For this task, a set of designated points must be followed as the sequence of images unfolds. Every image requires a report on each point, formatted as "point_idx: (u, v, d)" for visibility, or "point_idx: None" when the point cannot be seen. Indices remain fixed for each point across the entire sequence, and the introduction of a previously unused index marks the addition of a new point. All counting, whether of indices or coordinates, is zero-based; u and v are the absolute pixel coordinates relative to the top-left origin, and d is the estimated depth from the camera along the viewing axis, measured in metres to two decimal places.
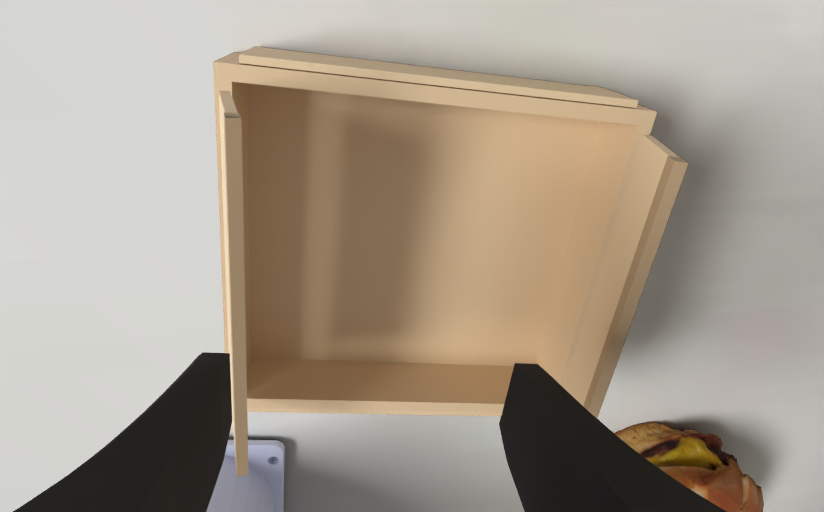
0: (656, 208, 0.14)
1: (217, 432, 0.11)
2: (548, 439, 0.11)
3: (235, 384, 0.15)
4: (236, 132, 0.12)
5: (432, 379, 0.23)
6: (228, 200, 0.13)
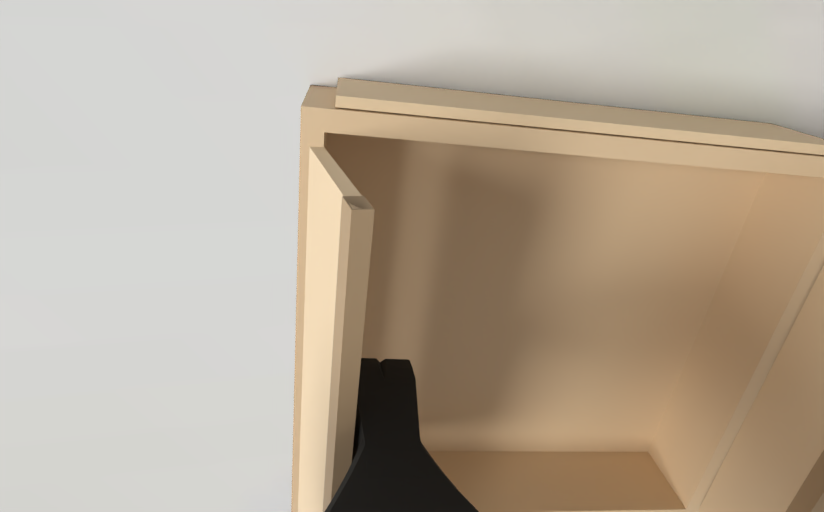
0: None
1: None
2: (356, 437, 0.10)
3: None
4: (365, 229, 0.08)
5: (534, 475, 0.19)
6: (343, 322, 0.09)
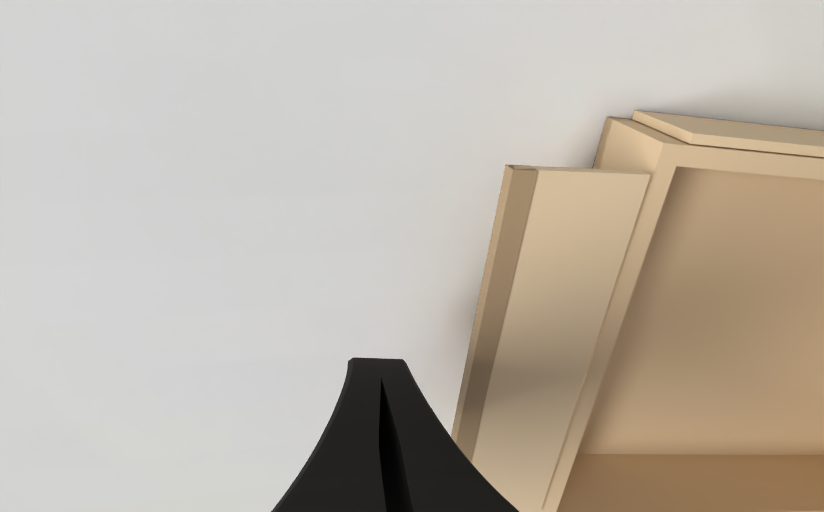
0: None
1: None
2: (388, 437, 0.10)
3: (451, 435, 0.15)
4: (506, 182, 0.11)
5: (738, 477, 0.20)
6: (491, 250, 0.12)
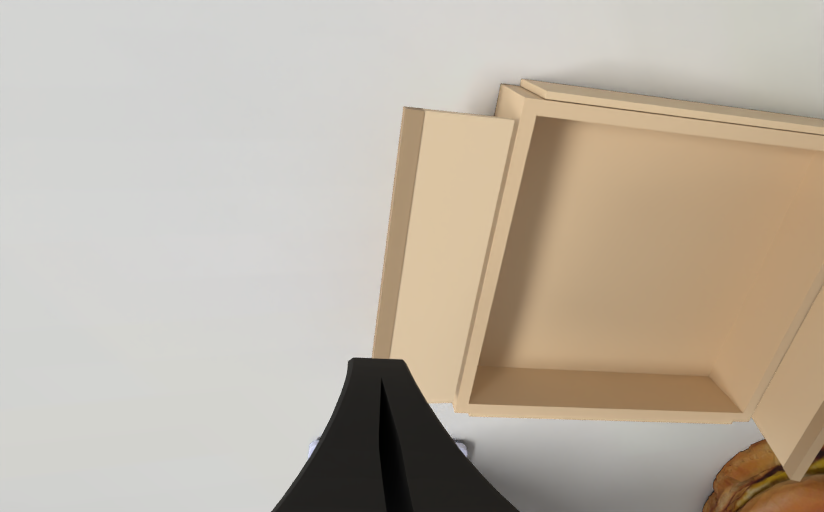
0: None
1: None
2: (387, 437, 0.10)
3: None
4: (402, 118, 0.16)
5: (626, 387, 0.24)
6: None
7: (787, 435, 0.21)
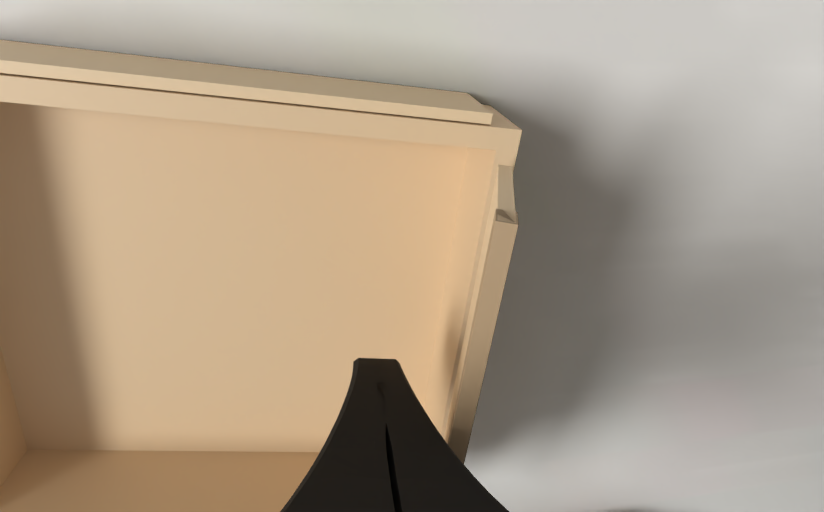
0: (479, 293, 0.09)
1: None
2: None
3: None
4: None
5: (269, 478, 0.17)
6: None
7: None
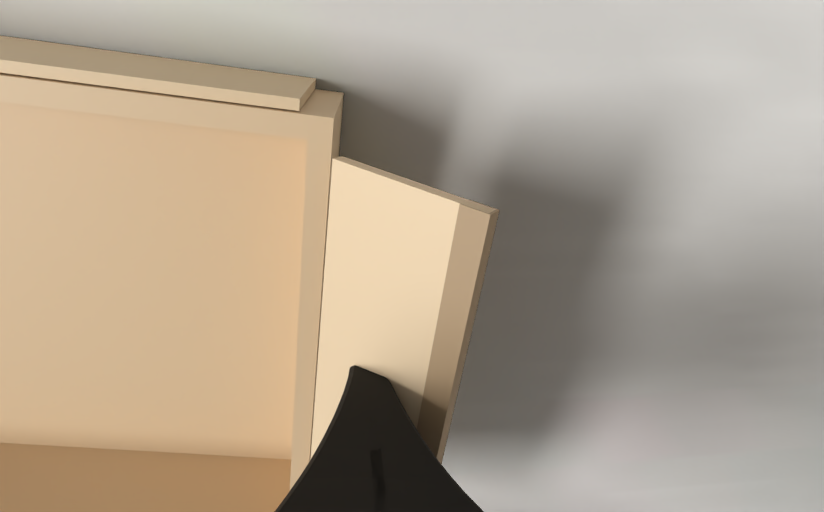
0: (469, 283, 0.09)
1: None
2: None
3: None
4: None
5: (133, 478, 0.17)
6: None
7: None
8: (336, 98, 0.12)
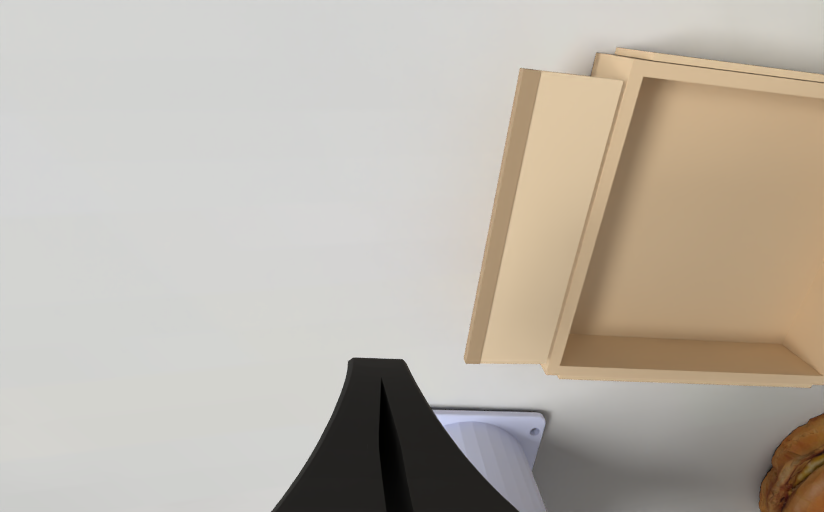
0: None
1: None
2: (388, 437, 0.10)
3: (479, 278, 0.20)
4: (519, 78, 0.17)
5: (705, 353, 0.25)
6: (509, 130, 0.18)
7: None
8: None
